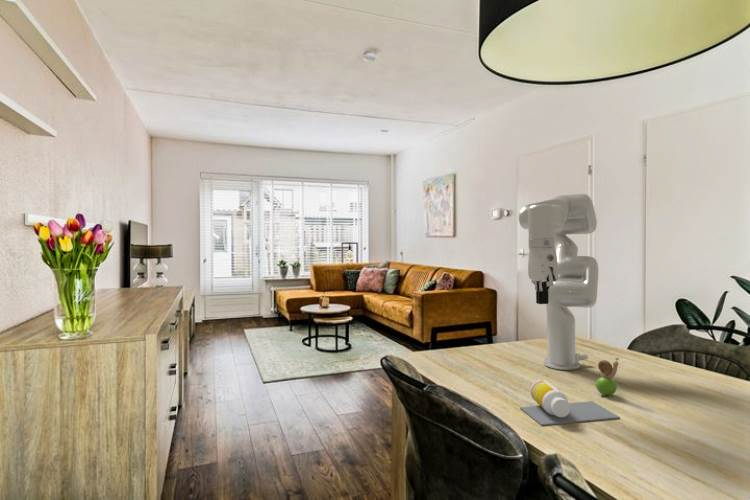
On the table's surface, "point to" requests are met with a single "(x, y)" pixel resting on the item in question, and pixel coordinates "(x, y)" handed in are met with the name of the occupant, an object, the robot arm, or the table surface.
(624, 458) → the table surface
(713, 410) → the table surface
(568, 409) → the supplement bottle
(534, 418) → the mat
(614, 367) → the snail figurine
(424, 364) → the table surface
